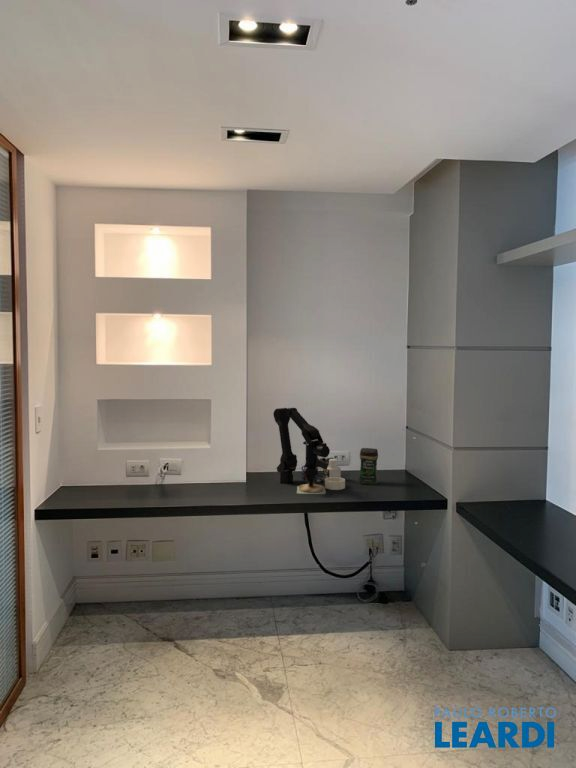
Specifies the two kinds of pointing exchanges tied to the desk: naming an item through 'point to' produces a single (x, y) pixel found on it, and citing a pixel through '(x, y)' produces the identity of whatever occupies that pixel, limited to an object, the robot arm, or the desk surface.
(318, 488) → the lid
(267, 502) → the desk surface
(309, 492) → the mat
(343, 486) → the bowl
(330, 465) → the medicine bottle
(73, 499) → the desk surface
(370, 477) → the coffee jar
